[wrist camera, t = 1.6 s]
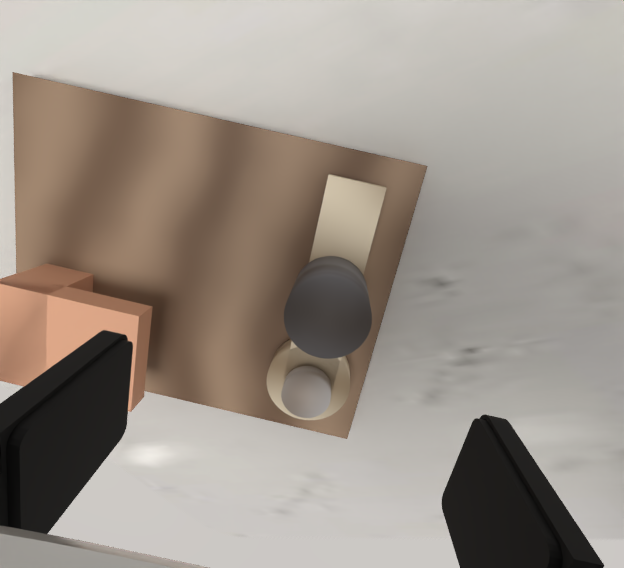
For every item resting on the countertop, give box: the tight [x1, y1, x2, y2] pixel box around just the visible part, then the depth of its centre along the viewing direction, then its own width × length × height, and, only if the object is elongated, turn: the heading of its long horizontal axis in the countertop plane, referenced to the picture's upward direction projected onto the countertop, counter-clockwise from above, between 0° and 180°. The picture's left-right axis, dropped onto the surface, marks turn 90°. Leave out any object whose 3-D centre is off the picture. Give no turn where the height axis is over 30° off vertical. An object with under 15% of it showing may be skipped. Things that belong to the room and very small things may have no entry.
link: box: [267, 174, 387, 420], centre depth 21 cm, size 14×5×6 cm, turn 168°
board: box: [13, 72, 427, 439], centre depth 23 cm, size 23×18×5 cm
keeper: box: [0, 264, 153, 412], centre depth 23 cm, size 8×6×4 cm
